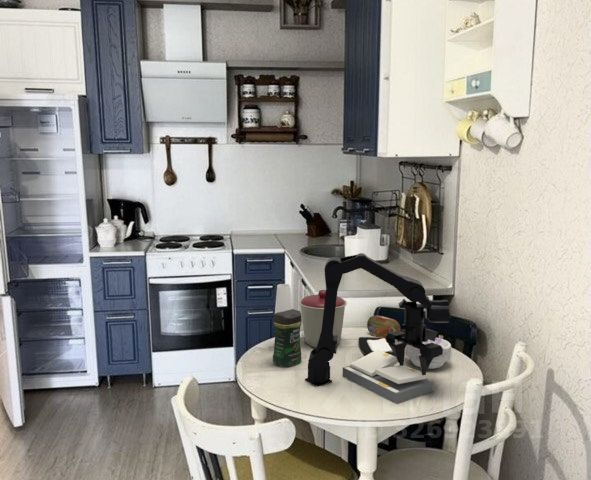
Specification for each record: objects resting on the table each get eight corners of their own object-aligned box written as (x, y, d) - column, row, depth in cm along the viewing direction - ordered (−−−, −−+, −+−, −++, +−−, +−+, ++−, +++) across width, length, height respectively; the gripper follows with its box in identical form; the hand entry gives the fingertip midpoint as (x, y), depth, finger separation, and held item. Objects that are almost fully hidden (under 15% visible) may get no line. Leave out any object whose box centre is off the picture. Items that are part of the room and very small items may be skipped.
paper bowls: (444, 356, 197) (445, 335, 195) (455, 372, 182) (456, 349, 180) (401, 356, 197) (402, 334, 196) (408, 372, 182) (409, 349, 181)
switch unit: (396, 403, 158) (397, 390, 158) (342, 376, 178) (342, 364, 178) (432, 391, 167) (432, 378, 166) (376, 366, 187) (377, 355, 186)
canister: (289, 343, 210) (288, 289, 207) (322, 333, 222) (322, 282, 219) (322, 355, 197) (323, 298, 194) (356, 344, 209) (357, 290, 206)
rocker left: (372, 376, 170) (371, 372, 169) (351, 366, 178) (350, 363, 178) (399, 361, 176) (399, 357, 176) (378, 352, 184) (377, 349, 184)
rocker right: (398, 384, 160) (398, 379, 160) (374, 373, 168) (375, 368, 168) (426, 378, 167) (427, 374, 167) (402, 368, 175) (403, 364, 175)
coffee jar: (285, 369, 184) (285, 315, 181) (269, 363, 190) (269, 311, 187) (305, 362, 191) (305, 310, 188) (290, 356, 196) (290, 306, 194)
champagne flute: (288, 352, 200) (288, 288, 197) (271, 350, 203) (271, 286, 199) (295, 346, 206) (295, 284, 203) (279, 344, 209) (279, 282, 206)
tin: (366, 334, 222) (366, 313, 221) (371, 332, 224) (371, 312, 223) (396, 343, 211) (397, 322, 210) (401, 341, 213) (402, 320, 212)
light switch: (404, 354, 194) (365, 351, 194) (403, 362, 195) (364, 359, 194) (392, 336, 214) (356, 333, 213) (391, 343, 214) (355, 340, 213)
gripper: (455, 324, 165) (454, 374, 167) (410, 310, 180) (409, 356, 183) (430, 331, 159) (428, 382, 161) (385, 316, 174) (384, 363, 176)
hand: (412, 370), depth 170 cm, fingers open, 9 cm apart
